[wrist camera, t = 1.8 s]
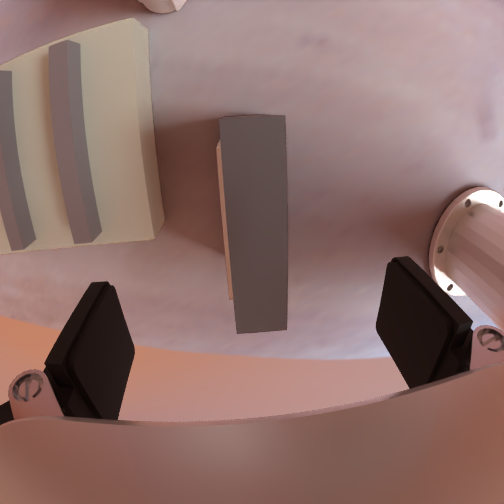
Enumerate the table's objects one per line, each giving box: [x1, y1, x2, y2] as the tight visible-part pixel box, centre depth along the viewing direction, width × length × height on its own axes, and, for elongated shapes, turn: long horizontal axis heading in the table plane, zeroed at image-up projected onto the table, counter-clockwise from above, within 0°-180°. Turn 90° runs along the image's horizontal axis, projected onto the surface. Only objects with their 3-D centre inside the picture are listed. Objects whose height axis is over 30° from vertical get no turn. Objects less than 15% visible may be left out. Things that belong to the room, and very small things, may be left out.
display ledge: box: [0, 17, 165, 254], centre depth 19 cm, size 16×16×6 cm
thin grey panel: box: [216, 115, 288, 334], centre depth 20 cm, size 3×12×10 cm, turn 3°
